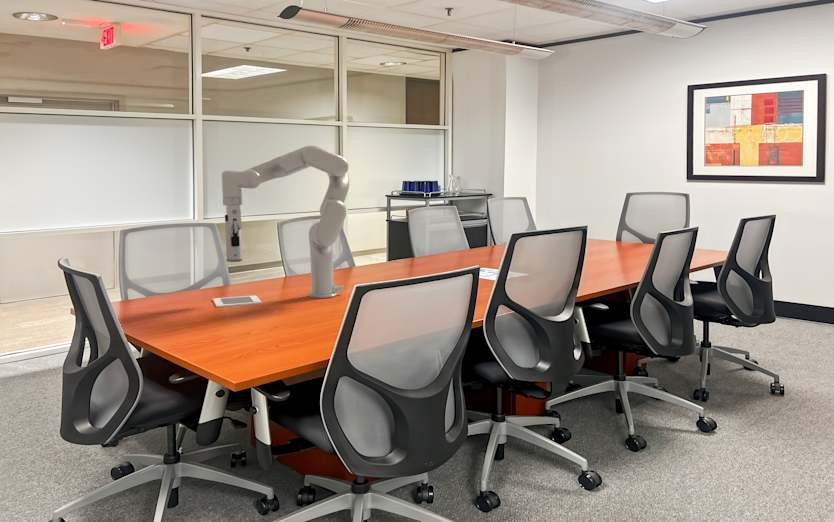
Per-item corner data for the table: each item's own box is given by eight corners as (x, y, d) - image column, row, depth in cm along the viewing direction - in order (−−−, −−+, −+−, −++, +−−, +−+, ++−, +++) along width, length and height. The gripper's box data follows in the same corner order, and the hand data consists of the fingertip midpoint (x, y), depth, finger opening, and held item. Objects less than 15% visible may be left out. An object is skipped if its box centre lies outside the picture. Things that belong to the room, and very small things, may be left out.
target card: (255, 296, 311) (255, 295, 311) (262, 303, 297) (262, 302, 296) (212, 300, 305) (212, 298, 305) (216, 307, 290) (216, 305, 290)
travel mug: (239, 262, 294) (237, 213, 291) (224, 261, 296) (221, 212, 293) (245, 260, 301) (243, 211, 298) (230, 259, 302) (228, 211, 299)
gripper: (244, 202, 288) (246, 247, 291) (239, 199, 304) (240, 242, 307) (225, 202, 285) (227, 248, 288) (220, 200, 301) (222, 243, 304)
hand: (234, 244), depth 297 cm, fingers closed on travel mug, 6 cm apart
